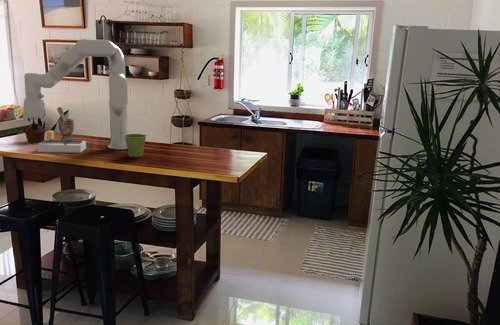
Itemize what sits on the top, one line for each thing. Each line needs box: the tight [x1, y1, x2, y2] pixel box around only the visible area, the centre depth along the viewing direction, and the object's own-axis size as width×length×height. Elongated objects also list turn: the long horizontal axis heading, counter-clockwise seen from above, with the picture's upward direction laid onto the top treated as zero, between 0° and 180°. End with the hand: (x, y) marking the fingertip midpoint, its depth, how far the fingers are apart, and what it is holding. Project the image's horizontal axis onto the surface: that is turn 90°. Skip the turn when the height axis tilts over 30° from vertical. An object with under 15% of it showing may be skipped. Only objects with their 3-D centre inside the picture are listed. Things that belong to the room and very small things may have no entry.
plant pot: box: [124, 133, 148, 158], centre depth 226 cm, size 12×12×11 cm
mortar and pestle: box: [56, 107, 75, 141], centre depth 255 cm, size 12×9×20 cm
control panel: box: [36, 139, 87, 154], centre depth 233 cm, size 22×12×5 cm, turn 97°
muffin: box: [23, 124, 47, 144], centre depth 249 cm, size 12×11×10 cm
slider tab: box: [45, 130, 55, 142], centre depth 231 cm, size 2×4×6 cm, turn 7°
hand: (35, 130), depth 229 cm, fingers closed
